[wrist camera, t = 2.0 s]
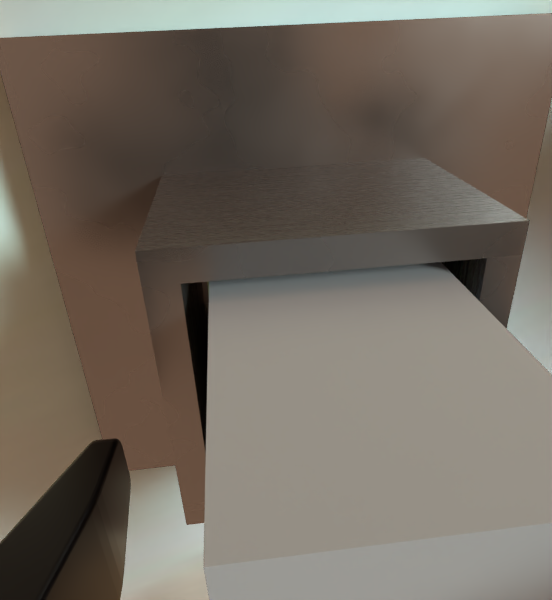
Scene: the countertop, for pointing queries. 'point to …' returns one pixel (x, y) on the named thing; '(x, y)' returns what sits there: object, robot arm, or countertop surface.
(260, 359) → the column
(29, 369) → the countertop surface
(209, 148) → the stand base
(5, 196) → the countertop surface
